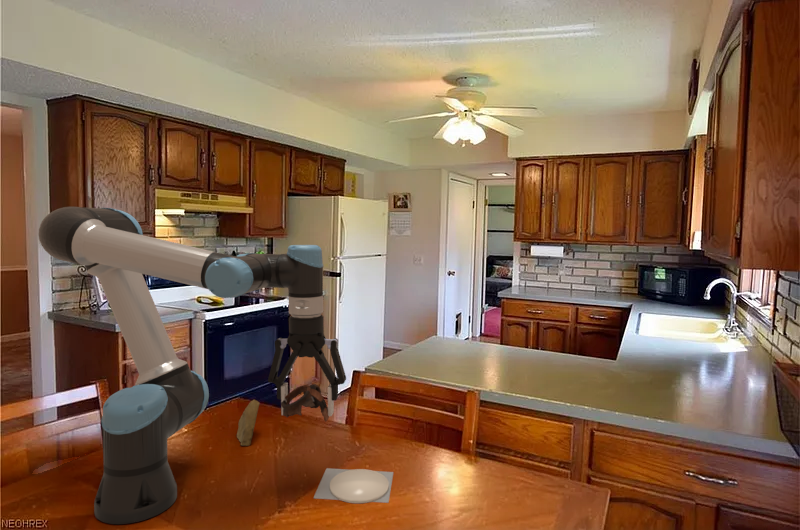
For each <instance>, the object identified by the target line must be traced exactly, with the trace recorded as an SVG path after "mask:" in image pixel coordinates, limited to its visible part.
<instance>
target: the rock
mask: <svg viewBox="0 0 800 530" xmlns="http://www.w3.org/2000/svg"><path fill="white" fill-rule="evenodd" d="M259 406H260V402H259V401H258V400H256V399H252V400H251V401H250V402H249V403H248V405H247V406H246V407H245V409H244V410H243V412H242V415H240V417H239V418H240V419H239V420H238V422H237V423H238V424H237V425H238V429H237V433H236V438H237V440H238V441H239V442H240V446H241V447H242V446H244V447H245V446H247V447H249V446H251V444H252V439H253V435H254V429H255V427H256V426H255V425H256V423H257V422H256V421H257V415H258V411H259Z"/></svg>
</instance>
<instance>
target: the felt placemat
mask: <svg viewBox="0 0 800 530" xmlns="http://www.w3.org/2000/svg"><path fill="white" fill-rule="evenodd" d="M348 470H349V469H346V468H345V469H344V468H343V469H342V468H329V467H327V468H326V469H325V471H324V473H323V475H322V478H321V479H320V482H319V484H318V487H317V489H316V491H315V493H314V496H313V499H319V500H336V501H340V500H339V499H337V498H335V497H334V496H333V495H332V494H331V492H330V482H331V480H332V479H333V478H334V477H335V476H336V475H338V474H339V473H342V472H345V471H348ZM375 471H376V472H378V473H381V474H382V475H384V476H385V477H386V478H387V480H388V482H389V489H388V491H387V493H386V494H385V495H384V496H383V497H382V498H380V499H378V500H375V501H372V502H371V503H380V504H381V503H384V504H385V503H386V504H389V501H390V497H391V490H392V484H393V477H394V471H381V470H379V471H378V470H375Z"/></svg>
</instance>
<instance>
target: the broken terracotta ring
mask: <svg viewBox="0 0 800 530" xmlns="http://www.w3.org/2000/svg"><path fill="white" fill-rule="evenodd" d="M302 393H303V395H302V396H300V397H299V398H298V399H297V400H295V401H294V402H292V401H293V400H294V399H296V397H298V396H299V395H301V394H302ZM285 399H286V400H287V401H286V402H285V400H283V402H282V403H281V402H280V406H282V407H283V415H282V416H283V417H286V418H289V417H292V416H294V415H295V416H296V415H298V416H302V409H303V408H302V407H304V408H305V407H306V408H310V409H318V408H320V413H321V414H322V417H323V421H324V422H325V423H326V422H327V421H328V420H329V418H330V416H328V404H327V403H326V402H327V401H326V400H325V398H324V396H323V395H322V391H321V388H320V386H319V385H318V384H315V383H313V384H310V385H309V384H303V385H300V386H298V387H296V388H294V389H292V390H291V391H290V392H288V395H287V396H286V397H285ZM290 402H292V403H290Z"/></svg>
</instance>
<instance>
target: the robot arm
mask: <svg viewBox="0 0 800 530" xmlns="http://www.w3.org/2000/svg"><path fill="white" fill-rule="evenodd" d="M143 234H144V233H143V229H142V227H141V225H140V223H139V221H137V219H136V218H135V217H134V216H133V215H132V214H130V213H128V212H125V211H123V210H121V209H115V208H111V207H84V206H83V207H81V206H64V207H60V208H57V209H55V210H52V211H51V212H49V213H48V214H47V215H46V216H45V217H44V218H43V220H42V221H41V223H40V225H39V228H38V239H39V242H40V246H41V247H42V248H43V249H44V251H45V252H46V253H47V254H48V255H50V256H51V257H52V258H54V259H57V260H60V261H63V262H68V263H73V264H78V265H81V266H84V267H85V269H86V272H87V274H88V275H91V276H93V277H96V278H98V281H99V283H100V285H101V287H102V290H103V292H104V294H105V297H106V299H107V301H108V305H109V306H110V308H111V311H112V315H114V319H115V320H116V323H117V324H118V325H117V326H118V328H119V330H120V332H121V335H122V337H123V339H124V342H125V344H126V346H127V349H128V351H129V353H130V356H131V358H132V360H133V363H134V366H135V367H136V370H137V372H138V377H137V379H136V381H135V384H134V385H133V386H131V387H124V388H122V389H119V390H118V391H116V392H114V393H113V394H111V395H110V396H109V397H108V398H107V399H106V401H104V404H103V406H102V416H101V420H100V422H101V429H102V456H103V457H102V458H103V461H102V462H103V475H102V477H101V480H100V483H99V486H98V488H97V489H98V490H97V492H96V495H95V498H94V501H93V502H94V504H93V505H94V506H93V507H94V509H93V510H94V511H93V512H94V516H95V517H94V518H96V519H97V520H98V521H100V522H102V523H105V524H110V525H126V524H134V523H138V522H142V521H145V520H149V519H151V518H155V517H156V516H158V515H160V514H162V513H163V512H165V511H166V510H168V509H169V508H170V507H171V506H173V505H174V503H175V502H176V500H177V498H178V485H177V482H176V479H175V476H174V475H173V471H172V469H171V466H170V464H169V462H168V461H169V460H168V439H170V437H172V436H173V435H174V434H176V433H177V432H179V431H180V430H182V429H183V428H185V427H186V426H187V425H190V424H191V423H192V422H194V421H196V420H197V418H198V417H199V416H200V415H201V414H202V413H203V412H204V411H205V409H206V407H207V405H208V403H209V397H210V393H209V392H210V391H209V387H208V384H207V383H208V382H207V381H206V379H205V378H204V377H203V376H202V375H201V374H200V373H197V372H196V371H194V370H191V368H190V366H189V364H188V362H187V361H186V360H183V359H180V358H179V357H178V356H177V353H176V351H175V348H174V346H173V344H172V342H171V338H170V337H169V334H168V332H167V330H166V327H165V325H164V323H163V320H162V318H161V316H160V312H159V310H158V308H157V306H156V304H155V301H154V299H153V296H152V295H151V292H150V290H149V287H148V285H147V282H146V280H145V278H144V275H147V276H150V277H155V278H159V279H163V280H168V281H172V282H176V283H180V284H185V285H189V286H193V287H196V288H202V289H206V290H208V291H209V292H211V294H213V295H214V296H216V297H219V298H222V299H229V298H230V299H231V298H238V297H240V296H242V295H245V294H248V293H250V292H254V291H258V290H262V289H267V288H268V289H273V288H275V289H279V288H281V289H288V294H287V295H288V314H289V315H290V316H289V317H288V334H289V335H288V337H287V338H282V337H279V338H277V339H276V340H275V341H274V349H275V351H274V354H273V358H272V361H271V366H270V370H269V375H268V378H267V381H268V383H269V384H274V385H276V399H277V400H280V404H281V403H282V402H283V400H285V402H286V401H287V400H286V399H285V397H286V396H287V395H288V394H289V385H288V384H289V383H288V382H285V381H286V378H287V377H288V375H289V373H290V371H291V369H292V367H294V364H295V362H296V360H297V359H298V358H304V357H306V358H314V361H316V362H317V364H318V365H319V367H320V368H321V370H322V372H323V374H324V376H325V377H326V378H327V381H328V382H329V384H328V387H327V407H328V416H329V417H332V416H333V414H334V412H335V410H334V409H335V408H334V407H335V405H334V404H335V403H334V402H335V401H337V400H338V398H339V385H344V383H345V382H346V380H347V375H346V373H345V369H344V366H343V365H344V364H343V362H342V358H341V355H340V352H339V347H338V346H339V339H338V338H337V337H333V339H331V338H326V336H325V333H324V332H325V330H324V327H325V326H324V325H325V324H324V321H325V320H324V316H323V313H324V263H323V250H322V248H321V247H320V246H319V245H317V244H291V245H288V247H287V251H286V253H281V254H280V253H274V254H273V253H255V252H251V253H241V254H237V255H236V256H235V255H230V254H226V253H222V252H217V251H214V250H210V249H204V248H200V247H194V246H191V245H186V244H183V243H179V242H174V241H170V240H164V239H161V238H158V237H157V238H156V237H152V236H148V235H143ZM287 344H288V346H289V348H290V349H291V350H292V352H291V353H290V355H289V357H288V360H287V361H286V363H285V364H284V367H283V368H282V370H281V372H280V373H279V370H280V367H281V361H282V358H283V353H284V350H285V348H286V347H287ZM325 345H326V346H327V349H329V350H330V356H331V358H332V363H333V366H334V369H335V372H334V370H333V368H332V367H331V365H330V363H329V361H328V360H327V358H326V357H325V353H324V350H322V349H323V347H324V346H325ZM278 373H279V376H278ZM280 406H281V405H280ZM280 409H281V411H280V412H281V416H284V415H283V407H282V406H281V407H280Z"/></svg>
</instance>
